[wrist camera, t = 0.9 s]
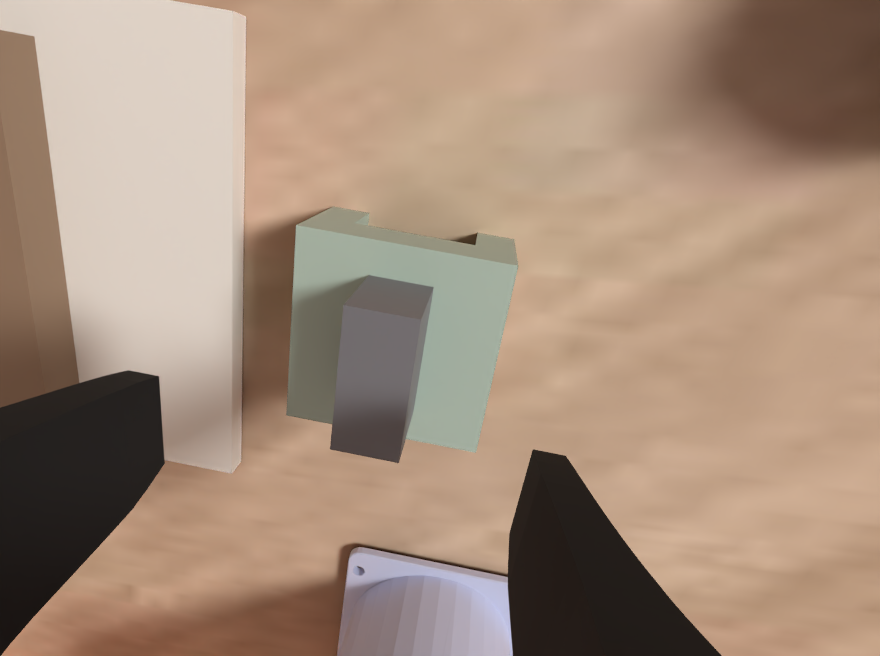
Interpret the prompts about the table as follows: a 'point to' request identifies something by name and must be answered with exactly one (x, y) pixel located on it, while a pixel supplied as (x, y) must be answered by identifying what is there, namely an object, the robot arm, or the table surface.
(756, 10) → the table surface
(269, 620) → the table surface
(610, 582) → the robot arm
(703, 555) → the table surface
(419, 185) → the table surface
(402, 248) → the sage slotted block
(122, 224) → the board
